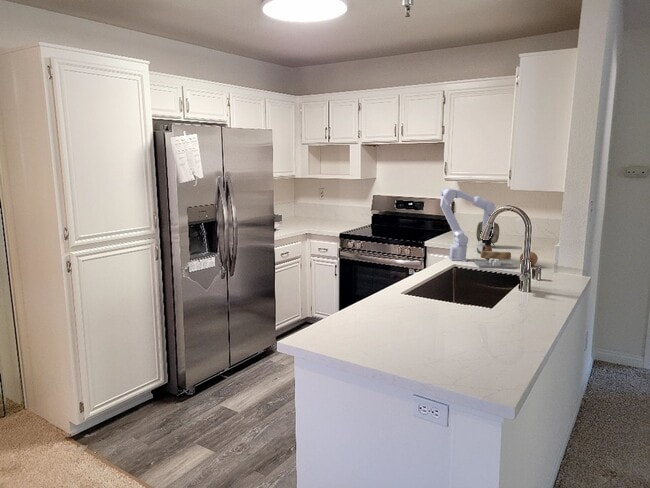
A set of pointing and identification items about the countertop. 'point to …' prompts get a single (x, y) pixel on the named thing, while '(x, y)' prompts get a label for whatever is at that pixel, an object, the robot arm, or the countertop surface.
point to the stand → (494, 264)
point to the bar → (495, 255)
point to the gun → (483, 247)
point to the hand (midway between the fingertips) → (485, 244)
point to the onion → (531, 258)
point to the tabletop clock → (495, 232)
